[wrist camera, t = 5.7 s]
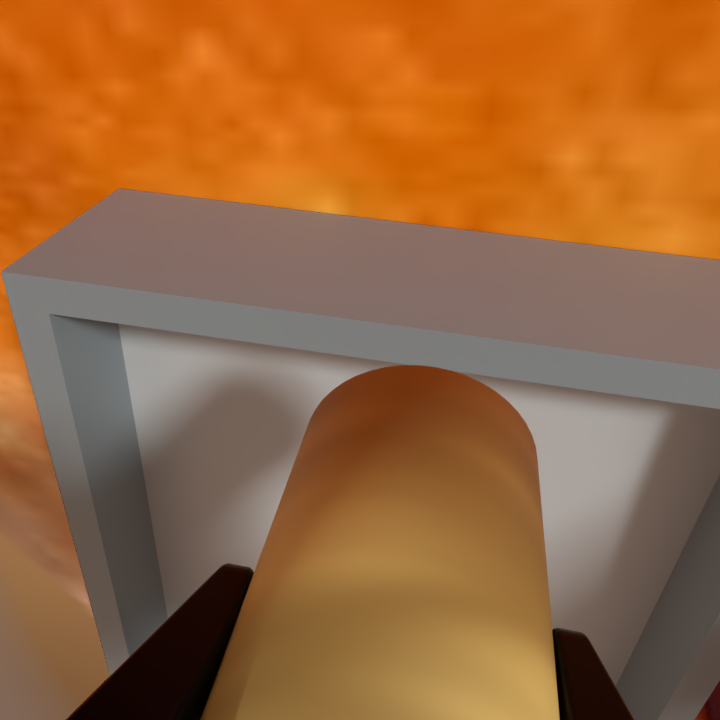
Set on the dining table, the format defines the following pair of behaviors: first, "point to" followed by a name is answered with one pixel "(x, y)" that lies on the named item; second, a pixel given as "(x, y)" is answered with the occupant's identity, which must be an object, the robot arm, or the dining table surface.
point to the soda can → (711, 706)
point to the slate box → (362, 354)
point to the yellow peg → (400, 565)
